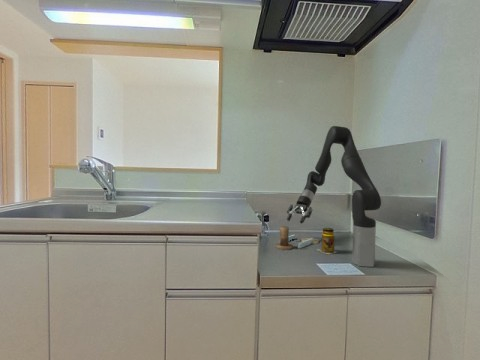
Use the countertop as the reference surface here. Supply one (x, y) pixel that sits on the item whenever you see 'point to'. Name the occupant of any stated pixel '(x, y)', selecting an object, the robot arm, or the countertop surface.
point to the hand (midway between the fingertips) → (294, 221)
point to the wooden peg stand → (284, 239)
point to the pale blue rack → (301, 241)
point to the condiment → (327, 241)
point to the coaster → (313, 240)
